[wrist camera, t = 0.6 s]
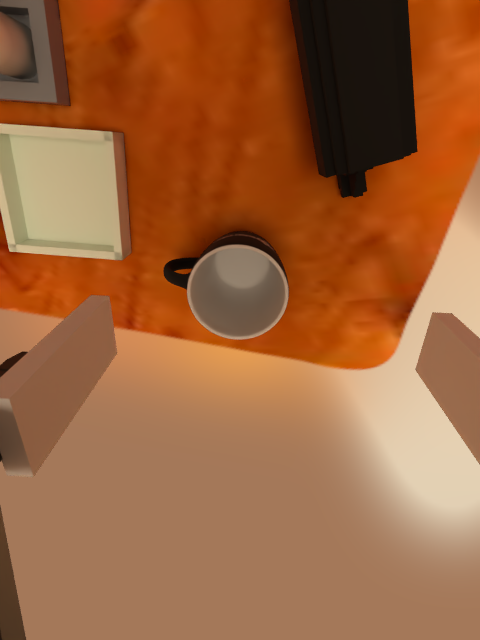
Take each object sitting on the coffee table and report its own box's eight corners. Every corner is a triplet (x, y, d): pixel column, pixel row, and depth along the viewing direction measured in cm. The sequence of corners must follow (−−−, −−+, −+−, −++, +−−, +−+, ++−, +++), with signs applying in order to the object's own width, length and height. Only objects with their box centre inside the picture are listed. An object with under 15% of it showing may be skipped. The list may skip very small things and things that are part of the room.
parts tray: (2, 124, 36) (-19, 122, 33) (123, 132, 35) (112, 131, 33) (25, 244, 41) (9, 251, 38) (131, 252, 41) (122, 260, 38)
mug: (288, 225, 39) (297, 250, 29) (276, 302, 43) (280, 345, 33) (176, 213, 39) (151, 233, 29) (174, 291, 42) (151, 330, 33)
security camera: (317, 201, 37) (336, 219, 28) (277, -23, 30) (285, -96, 21) (386, 183, 36) (428, 195, 27) (362, -55, 29) (409, -146, 20)
